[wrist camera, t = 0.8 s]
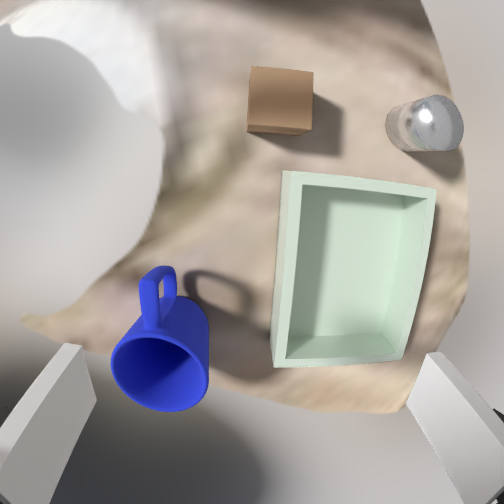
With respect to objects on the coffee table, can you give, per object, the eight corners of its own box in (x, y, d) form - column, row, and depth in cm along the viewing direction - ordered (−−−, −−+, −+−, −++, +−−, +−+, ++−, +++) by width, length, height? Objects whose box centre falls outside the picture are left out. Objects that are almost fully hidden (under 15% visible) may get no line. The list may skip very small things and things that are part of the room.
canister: (385, 101, 27) (420, 88, 20) (424, 111, 27) (463, 103, 20) (384, 147, 28) (420, 144, 21) (423, 155, 28) (463, 155, 22)
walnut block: (249, 82, 26) (251, 66, 21) (301, 87, 26) (313, 72, 21) (246, 131, 27) (248, 124, 23) (299, 135, 28) (311, 129, 23)
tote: (281, 170, 28) (290, 170, 23) (410, 185, 29) (436, 189, 24) (269, 341, 33) (273, 367, 28) (383, 337, 34) (401, 359, 29)
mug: (213, 248, 30) (201, 286, 20) (217, 353, 33) (211, 415, 24) (133, 248, 30) (91, 283, 20) (147, 350, 33) (121, 407, 23)
